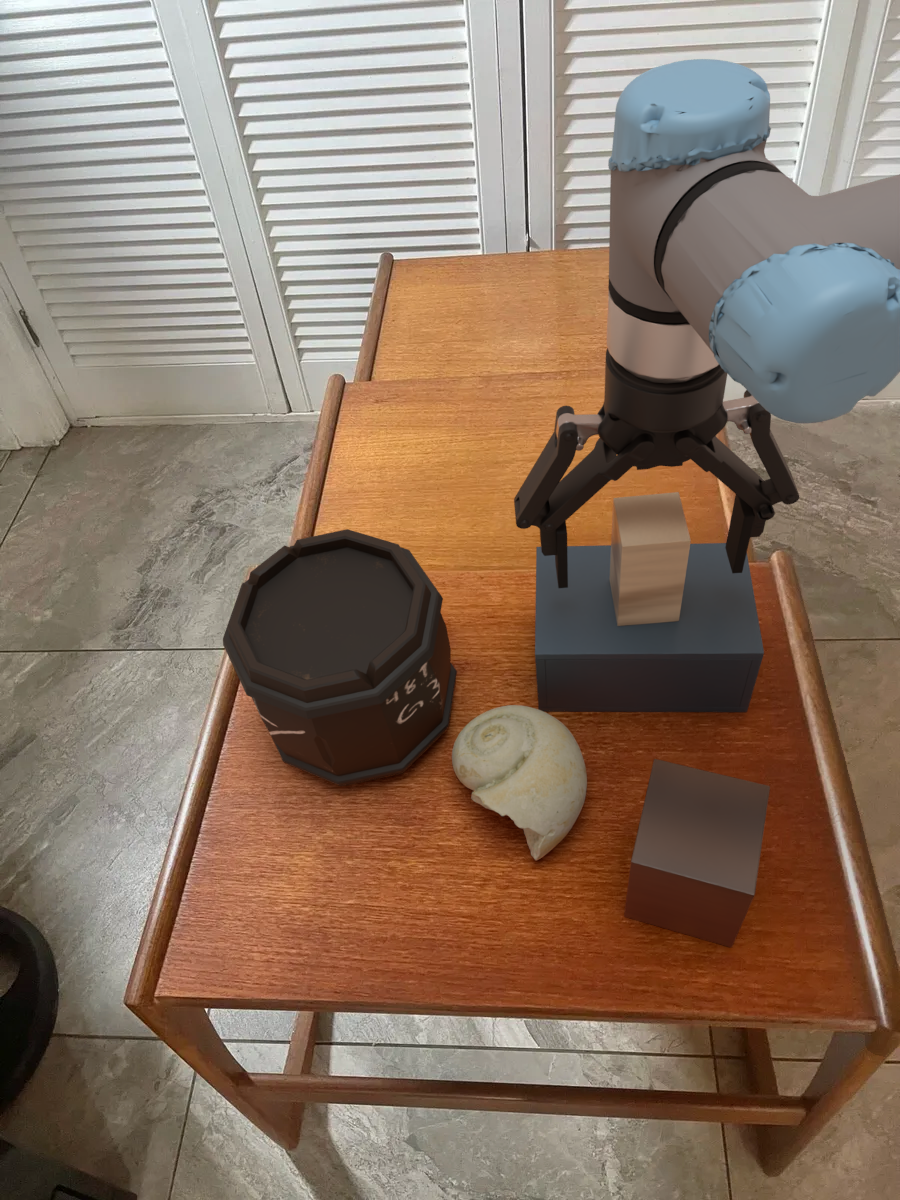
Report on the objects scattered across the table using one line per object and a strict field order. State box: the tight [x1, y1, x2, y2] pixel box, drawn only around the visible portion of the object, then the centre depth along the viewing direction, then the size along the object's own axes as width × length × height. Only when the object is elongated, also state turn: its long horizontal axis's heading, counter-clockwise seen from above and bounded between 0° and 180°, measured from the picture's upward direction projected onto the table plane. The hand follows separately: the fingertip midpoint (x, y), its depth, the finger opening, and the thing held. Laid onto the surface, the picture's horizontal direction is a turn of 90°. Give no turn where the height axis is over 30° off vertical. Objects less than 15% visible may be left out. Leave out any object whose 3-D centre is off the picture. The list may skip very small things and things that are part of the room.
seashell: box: [451, 704, 588, 861], centre depth 73 cm, size 13×8×10 cm
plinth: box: [623, 758, 771, 948], centre depth 66 cm, size 8×8×11 cm
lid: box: [534, 542, 765, 660], centre depth 76 cm, size 12×18×1 cm, turn 86°
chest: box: [534, 658, 763, 713], centre depth 79 cm, size 11×18×8 cm, turn 86°
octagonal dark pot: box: [222, 528, 458, 787], centre depth 77 cm, size 18×18×16 cm
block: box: [610, 491, 692, 626], centre depth 72 cm, size 5×5×10 cm
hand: (646, 567), depth 72 cm, fingers open, 13 cm apart
